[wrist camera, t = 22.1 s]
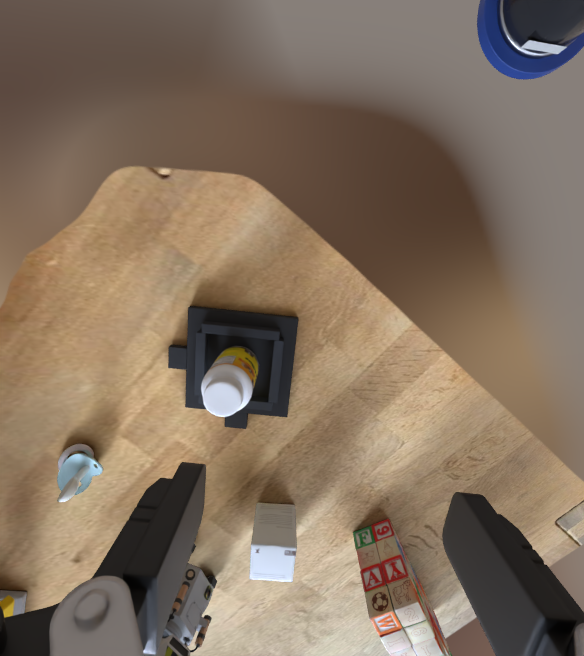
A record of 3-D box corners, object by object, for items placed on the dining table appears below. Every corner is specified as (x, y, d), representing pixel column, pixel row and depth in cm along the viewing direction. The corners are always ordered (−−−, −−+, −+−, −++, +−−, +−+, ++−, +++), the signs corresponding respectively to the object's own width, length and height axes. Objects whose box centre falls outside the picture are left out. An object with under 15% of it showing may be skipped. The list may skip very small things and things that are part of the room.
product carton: (254, 533, 50) (247, 581, 43) (256, 500, 49) (250, 544, 42) (293, 536, 50) (293, 584, 43) (296, 503, 49) (297, 547, 42)
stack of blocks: (435, 612, 54) (476, 715, 42) (400, 624, 55) (430, 729, 43) (388, 517, 49) (419, 603, 37) (351, 531, 50) (369, 620, 38)
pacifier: (52, 464, 47) (85, 489, 48) (16, 495, 41) (54, 523, 42) (81, 432, 46) (114, 459, 47) (48, 459, 40) (86, 489, 41)
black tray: (172, 303, 41) (164, 307, 39) (298, 317, 42) (298, 321, 39) (170, 417, 45) (163, 427, 43) (285, 429, 46) (285, 439, 43)
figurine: (137, 556, 51) (75, 678, 37) (202, 534, 50) (164, 652, 36) (163, 597, 53) (115, 728, 39) (226, 577, 52) (200, 704, 38)
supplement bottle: (263, 380, 43) (254, 420, 33) (222, 386, 43) (201, 428, 33) (255, 341, 42) (243, 370, 32) (213, 347, 42) (188, 378, 32)
